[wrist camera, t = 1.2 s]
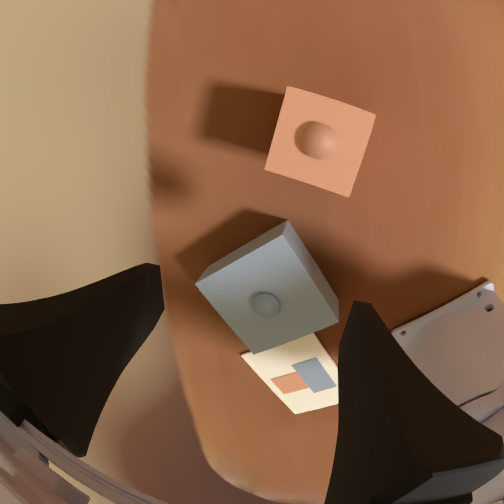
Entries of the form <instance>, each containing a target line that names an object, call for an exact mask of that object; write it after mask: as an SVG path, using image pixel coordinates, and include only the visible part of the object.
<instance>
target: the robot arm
mask: <svg viewBox="0 0 504 504" xmlns="http://www.w3.org/2000/svg"><path fill="white" fill-rule="evenodd" d="M478 292H479V294H477V293H478ZM164 309H165V308H164V300H163V291H162V282H161V272H160V265H155V264H150V263H144V264H141V265H138V266H135V267H132V268H130V269H127V270H124V271H122V272H120V273H117V274H115V275H112V276H110V277H107V278H105V279H102V280H100V281H97V282H95V283H92V284H89V285H87V286H84V287H81V288H79V289H76V290H73V291H70V292H67V293H63V294H60V295H56V296H52V297H48V298H43V299H38V300H33V301H28V302H21V303H13V304H0V504H88V502H89V500H90V497H89V496H87V495H86V494H85V493H83V492H81V491H80V490H79V489H77V488H76V487H74V486H73V485H72V484H70V483H69V482H67V481H66V480H65V479H64V478H62V477H61V476H60V475H58V474H57V473H56V472H54V471H53V470H52V469H51V468H49V462H48V460H49V461H50V462H51V463H53V464H54V465H56V466H57V467H58V468H60V469H61V470H62V471H64V472H65V473H67V474H68V475H70V476H71V477H73V478H74V479H76V480H77V481H79V482H80V483H82V484H83V485H85V486H87V487H88V488H90V489H91V490H93V491H95V492H97V493H98V494H100V495H102V496H104V497H105V498H107V499H109V500H111V501H113V502H114V503H116V504H168V503H165V502H163V501H160V500H157V499H155V498H153V497H150V496H148V495H146V494H144V493H141V492H139V491H137V490H135V489H132V488H131V487H128V486H126V485H124V484H122V483H120V482H118V481H116V480H115V479H113V478H111V477H109V476H107V475H105V474H103V473H102V472H100V471H98V470H96V469H95V468H93V467H91V466H89V465H88V464H86V463H84V462H83V461H81V460H80V459H78V458H77V457H84V456H86V453H87V450H88V447H89V444H90V441H91V438H92V435H93V432H94V429H95V426H96V424H97V421H98V419H99V417H100V414H101V412H102V410H103V407H104V405H105V403H106V401H107V399H108V397H109V395H110V393H111V391H112V389H113V387H114V385H115V384H116V382H117V380H118V378H119V376H120V374H121V373H122V372H123V370H124V369H125V367H126V366H127V364H128V363H129V362H130V360H131V359H132V358H133V356H134V355H135V353H136V352H137V351H138V349H139V348H140V347H141V345H142V344H143V343H144V341H145V340H146V339H147V337H148V336H149V334H150V333H151V332H152V330H153V329H154V327H155V326H156V324H157V322H158V320H159V318H160V316H161V314H162V313H163V311H164ZM402 331H405V332H403V333H401V332H402ZM338 404H339V423H338V435H337V443H336V450H335V456H334V462H333V468H332V473H331V478H330V483H329V487H328V491H327V495H326V499H325V503H324V504H504V304H503V302H502V301H501V300H500V298H499V297H498V295H497V294H496V293H495V292H494V285H493V283H492V282H491V281H486V282H485V283H483V284H481V285H480V286H478V287H476V288H475V289H473V290H471V291H469V292H468V293H466V294H464V295H462V296H460V297H459V298H457V299H455V300H453V301H451V302H449V303H447V304H446V305H444V306H442V307H440V308H438V309H436V310H434V311H432V312H430V313H428V314H426V315H424V316H422V317H420V318H418V319H416V320H413V321H411V322H409V323H407V324H405V325H403V326H400V327H398V328H396V329H394V330H393V331H392V333H391V332H390V331H389V329H388V328H387V327H386V325H385V324H384V322H383V321H382V319H381V318H380V316H379V315H378V313H377V312H376V311H375V309H374V308H373V306H372V305H371V304H370V303H365V302H359V301H354V302H353V305H352V308H351V311H350V314H349V317H348V320H347V324H346V327H345V330H344V332H343V335H342V338H341V341H340V344H339V356H338ZM49 438H50V439H49ZM52 440H53V441H54V442H53V441H52ZM56 443H57V444H56ZM59 445H60V446H61V447H60V446H59ZM63 448H64V449H63ZM66 450H67V451H66ZM69 452H70V453H69ZM72 454H73V455H72ZM75 456H76V457H75Z"/></svg>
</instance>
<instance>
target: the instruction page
mask: <svg viewBox="0 0 504 504" xmlns="http://www.w3.org/2000/svg"><path fill="white" fill-rule="evenodd" d="M241 356H242V357H243V359H244V360H245V361H246V362H247V363H248V364H249V365H250V366H251V368H252V369H253V370H254V371H255V372H256V373H257V374H258V375H259V376H260V378H261V379H262V380H263V381H264V382H265V383H266V384H267V385H268V386H269V387H270V388H271V390H272V391H273V392H274V393H275V394H276V395H277V396H278V397H279V398H280V399H281V400H282V401H283V402H284V403H285V404H286V405H287V406H288V407H289V408H290V409H291V410H292V412H293V413H294V414H298V413H303V412H307V411H311V410H315V409H319V408H323V407H327V406H331V405H335V404H338V367H337V366H336V364H335V363H334V361H333V360H332V358H331V357H330V355H329V354H328V353H327V351H326V350H325V348H324V347H323V345H322V344H321V342H320V341H319V339H318V338H317V336H316V335H315V333H311V334H309V335H306V336H304V337H301V338H299V339H296V340H293V341H291V342H288V343H285V344H283V345H280V346H277V347H274V348H271V349H269V350H266V351H263V352H260V353H257V354H254V355H253V353H252V352H251V351H250V352H247V353H244V354H241Z"/></svg>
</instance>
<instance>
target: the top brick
mask: <svg viewBox="0 0 504 504" xmlns="http://www.w3.org/2000/svg"><path fill="white" fill-rule="evenodd" d="M375 117H376V115H375V114H373V113H370V112H367V111H365V110H362V109H360V108H357V107H354V106H351V105H349V104H346V103H343V102H340V101H337V100H334V99H331V98H328V97H325V96H321V95H318V94H315V93H311V92H308V91H304V90H301V89H297V88H293V87H290V86H287V89H286V93H285V97H284V100H283V104H282V107H281V111H280V114H279V118H278V122H277V125H276V129H275V133H274V136H273V140H272V143H271V147H270V151H269V154H268V158H267V162H266V165H265V169H264V170H267V171H271V172H274V173H277V174H280V175H284V176H287V177H290V178H293V179H296V180H299V181H302V182H305V183H308V184H311V185H314V186H317V187H320V188H323V189H326V190H329V191H332V192H335V193H337V194H340V195H343V196H346V197H348V198H349V196H350V193H351V190H352V187H353V185H354V182H355V179H356V176H357V173H358V170H359V167H360V164H361V161H362V159H363V155H364V152H365V149H366V146H367V143H368V140H369V137H370V134H371V131H372V127H373V124H374V121H375Z"/></svg>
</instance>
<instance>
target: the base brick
mask: <svg viewBox="0 0 504 504" xmlns="http://www.w3.org/2000/svg"><path fill="white" fill-rule="evenodd" d="M195 285H196V286H197V287H198V289H199V290H200V291H201V293H202V294H203V295H204V296H205V298H206V299H207V300H208V301H209V302H210V304H211V305H212V306H213V307H214V309H215V310H216V311H217V312H218V313H219V315H220V316H221V317H222V318H223V319H224V321H225V322H226V323H227V324H228V325H229V327H230V328H231V329H232V330H233V331H234V333H235V334H236V335H237V336H238V337H239V338H240V340H241V341H242V342H243V343H244V344H245V345H246V347H247V348H248V349H249V350H250V351H251V352H252V353H253V355H254V354H257V353H260V352H263V351H266V350H269V349H271V348H274V347H277V346H280V345H283V344H285V343H288V342H291V341H293V340H296V339H299V338H301V337H304V336H306V335H309V334H311V333H314V332H316V331H319V330H321V329H324V328H326V327H329V326H331V325H334V324H336V323H338V322H339V303H338V298H337V297H336V295H335V293H334V292H333V290H332V288H331V287H330V285H329V283H328V282H327V280H326V279H325V277H324V275H323V274H322V272H321V271H320V269H319V267H318V266H317V264H316V263H315V261H314V259H313V258H312V256H311V255H310V253H309V252H308V250H307V248H306V247H305V245H304V244H303V242H302V241H301V239H300V238H299V236H298V234H297V233H296V231H295V230H294V228H293V227H292V225H291V224H290V222H289V221H288V220H286V221H284V222H283V223H281V224H279V225H278V226H276V227H274V228H272V229H271V230H269V231H267V232H266V233H264V234H262V235H260V236H259V237H257V238H255V239H253V240H252V241H250V242H248V243H247V244H245V245H243V246H242V247H240V248H238V249H236V250H235V251H233V252H231V253H230V254H228V255H226V256H224V257H223V258H221V259H219V260H218V261H216V262H214V263H213V264H211V265H209V266H208V267H207V269H206V270H205V271H204V272H203V274H202V275H201V276H200V278H199V279H198V280H197V282H196V283H195Z"/></svg>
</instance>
